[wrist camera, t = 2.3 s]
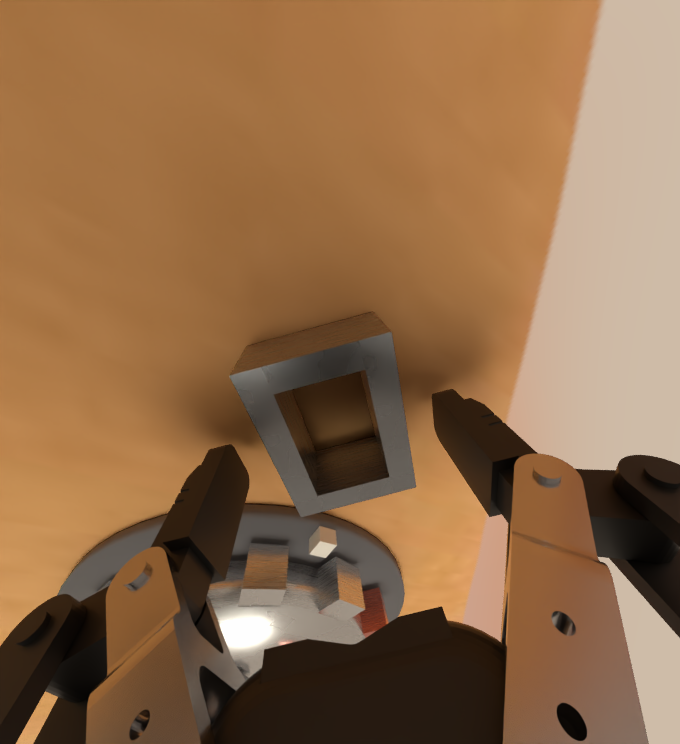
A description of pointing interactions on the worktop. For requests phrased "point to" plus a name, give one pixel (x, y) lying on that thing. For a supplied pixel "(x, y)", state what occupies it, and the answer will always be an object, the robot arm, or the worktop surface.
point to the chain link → (286, 425)
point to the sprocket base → (260, 526)
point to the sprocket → (290, 604)
